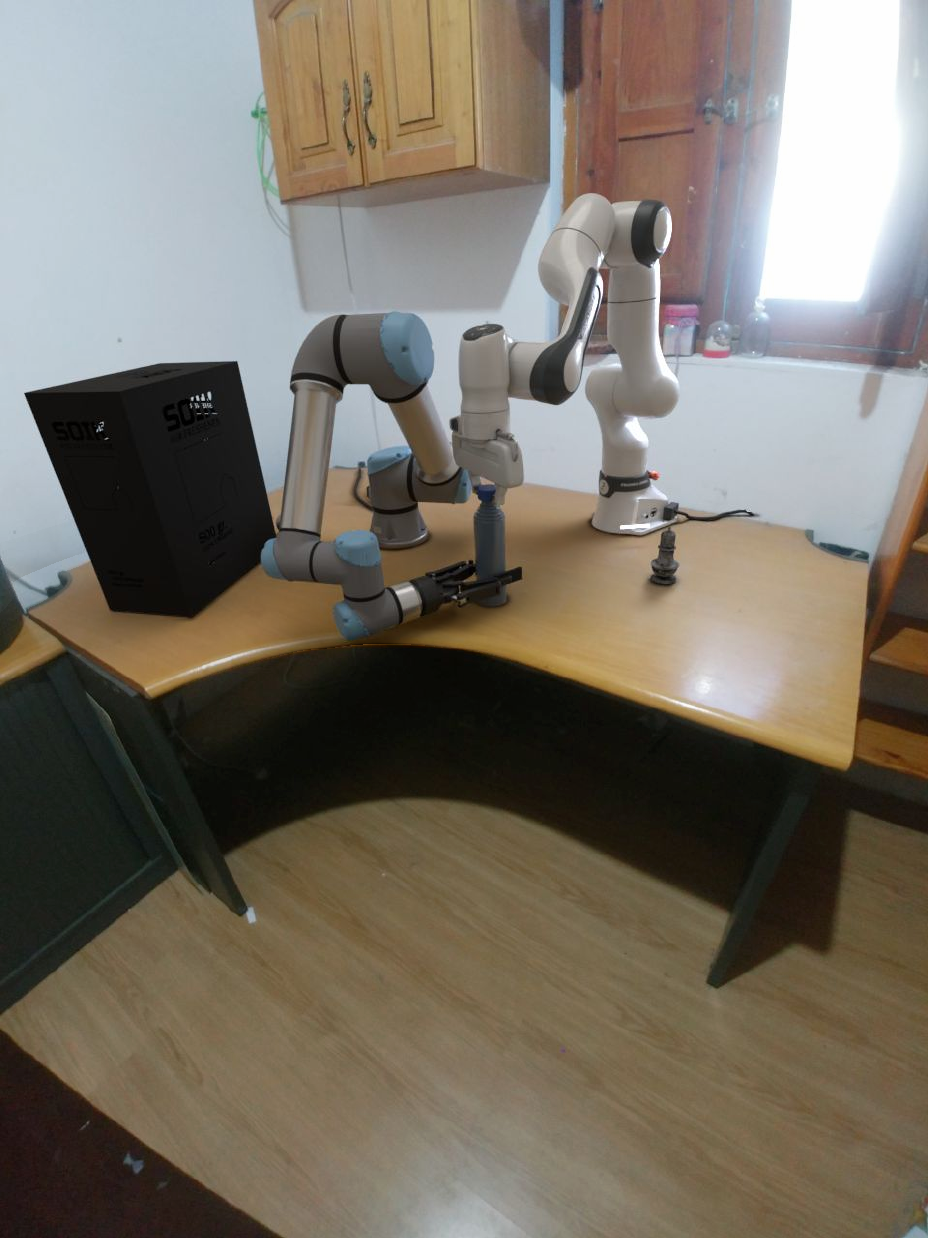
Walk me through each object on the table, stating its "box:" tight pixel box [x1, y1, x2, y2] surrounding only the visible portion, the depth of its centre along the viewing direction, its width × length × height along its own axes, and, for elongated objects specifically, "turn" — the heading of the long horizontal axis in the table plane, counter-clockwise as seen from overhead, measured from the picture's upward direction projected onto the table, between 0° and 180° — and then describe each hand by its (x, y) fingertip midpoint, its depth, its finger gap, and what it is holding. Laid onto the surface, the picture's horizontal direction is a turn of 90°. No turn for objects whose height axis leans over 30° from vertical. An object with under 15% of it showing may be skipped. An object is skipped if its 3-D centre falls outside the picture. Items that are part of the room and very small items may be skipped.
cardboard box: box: [23, 360, 278, 618], centre depth 133 cm, size 38×20×45 cm, turn 167°
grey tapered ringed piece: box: [649, 526, 680, 585], centre depth 128 cm, size 6×6×12 cm
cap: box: [477, 483, 496, 502], centre depth 115 cm, size 4×4×2 cm
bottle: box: [472, 500, 508, 608], centre depth 121 cm, size 6×6×24 cm
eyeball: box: [275, 513, 281, 531], centre depth 163 cm, size 6×6×6 cm
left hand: (510, 567), depth 126 cm, fingers closed on bottle, 6 cm apart
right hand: (488, 498), depth 116 cm, fingers open, 6 cm apart
